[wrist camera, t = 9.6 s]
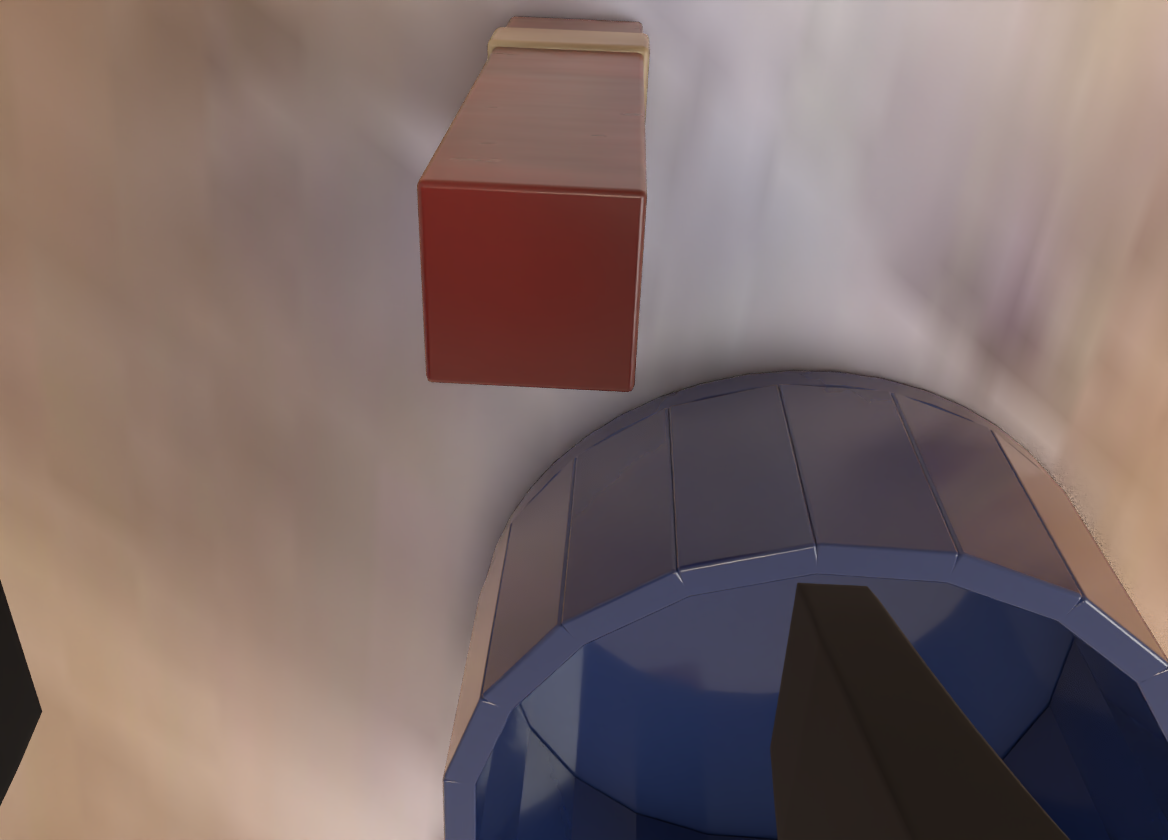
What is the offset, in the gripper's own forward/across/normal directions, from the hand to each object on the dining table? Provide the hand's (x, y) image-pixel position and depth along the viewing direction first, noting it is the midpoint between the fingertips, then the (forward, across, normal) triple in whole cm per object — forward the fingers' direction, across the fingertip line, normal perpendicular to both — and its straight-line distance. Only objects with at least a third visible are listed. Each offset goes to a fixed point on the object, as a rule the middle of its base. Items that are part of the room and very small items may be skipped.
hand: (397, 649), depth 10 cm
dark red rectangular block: (+10, -1, -3) cm, 10 cm away
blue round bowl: (+10, -6, +8) cm, 14 cm away
